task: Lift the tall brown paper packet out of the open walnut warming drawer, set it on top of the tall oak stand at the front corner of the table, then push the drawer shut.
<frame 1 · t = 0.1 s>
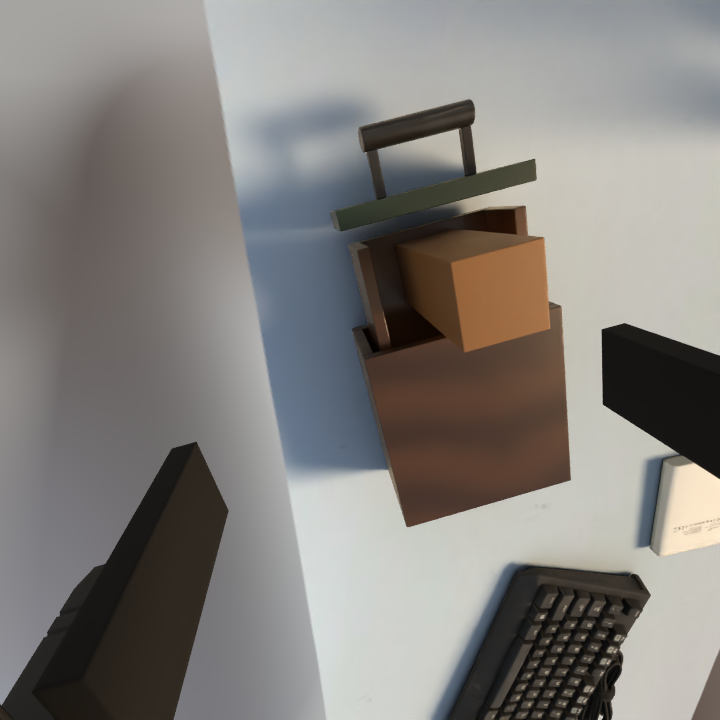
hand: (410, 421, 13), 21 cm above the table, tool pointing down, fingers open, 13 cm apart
keyboard: (541, 671, 52), on the table
packet: (429, 266, 30), point 2 cm above the table, touching drawer
hard drive: (686, 496, 45), on the table
cabinet: (444, 384, 36), on the table
drawer: (434, 257, 28), point 4 cm above the table, slide at 8.0 cm, touching packet
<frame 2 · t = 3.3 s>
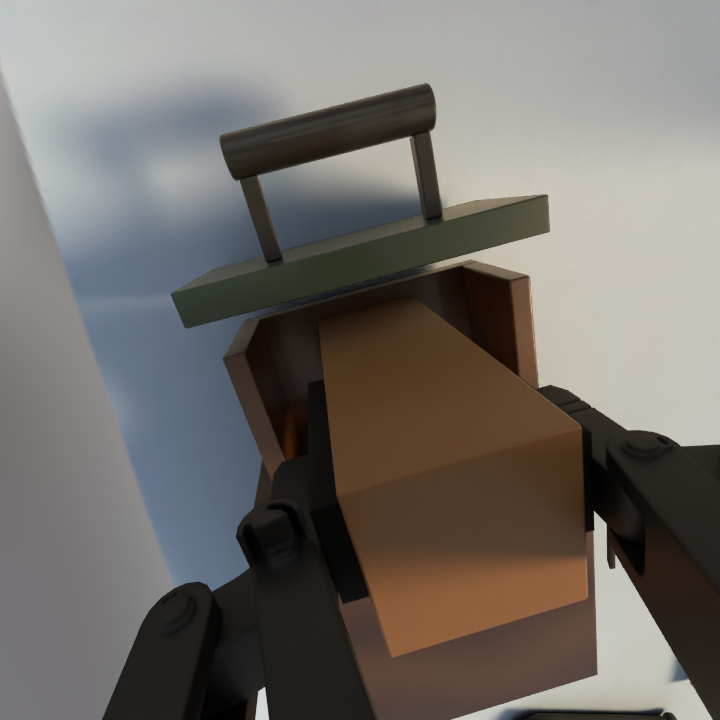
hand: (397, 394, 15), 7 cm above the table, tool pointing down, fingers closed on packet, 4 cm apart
packet: (376, 352, 19), point 2 cm above the table, touching drawer, gripper
cabinet: (409, 503, 25), on the table
drawer: (378, 348, 17), point 4 cm above the table, slide at 8.0 cm, touching packet
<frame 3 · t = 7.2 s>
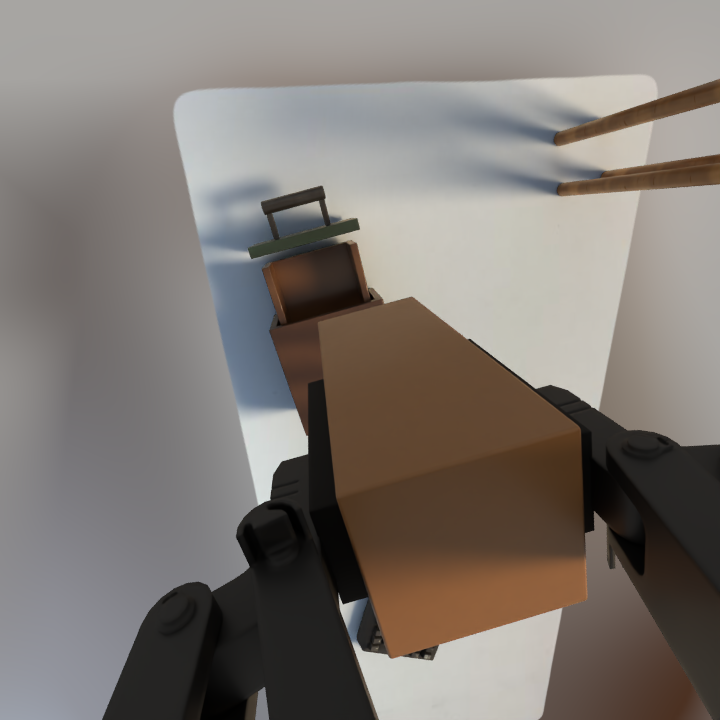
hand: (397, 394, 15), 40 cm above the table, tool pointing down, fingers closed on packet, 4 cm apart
keyboard: (435, 566, 72), on the table
packet: (376, 353, 19), point 35 cm above the table, touching gripper
cabinet: (338, 351, 55), on the table
drawer: (314, 271, 48), point 4 cm above the table, slide at 8.0 cm
when the fingers open (37 cm above the table, at t = 11.3 s): packet stays where it is, resting on stand.
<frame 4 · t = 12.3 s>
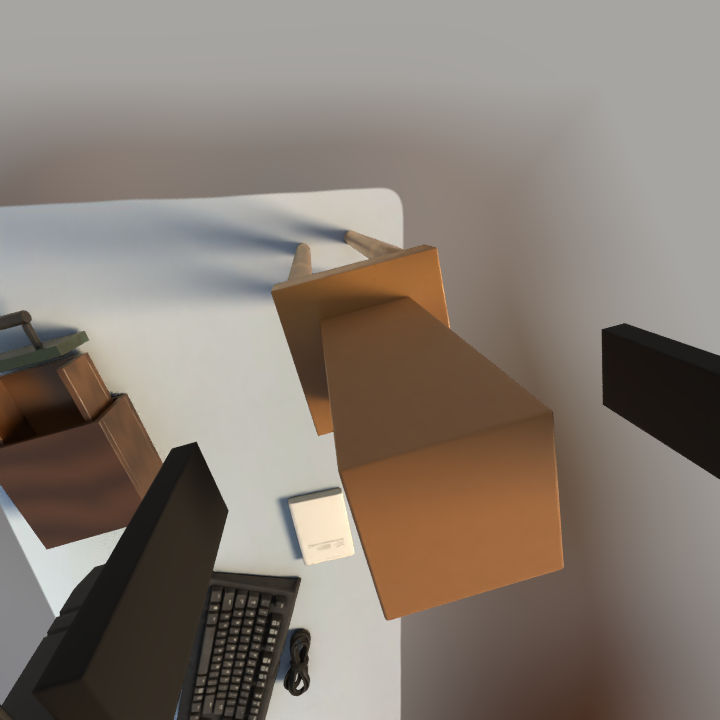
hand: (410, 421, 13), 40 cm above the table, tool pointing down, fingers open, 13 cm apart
keyboard: (254, 649, 71), on the table
stand: (373, 348, 20), on the table
packet: (375, 350, 20), point 32 cm above the table, touching stand
hard drive: (322, 522, 63), on the table
cabinet: (101, 453, 54), on the table
drawer: (38, 388, 46), point 4 cm above the table, slide at 8.0 cm
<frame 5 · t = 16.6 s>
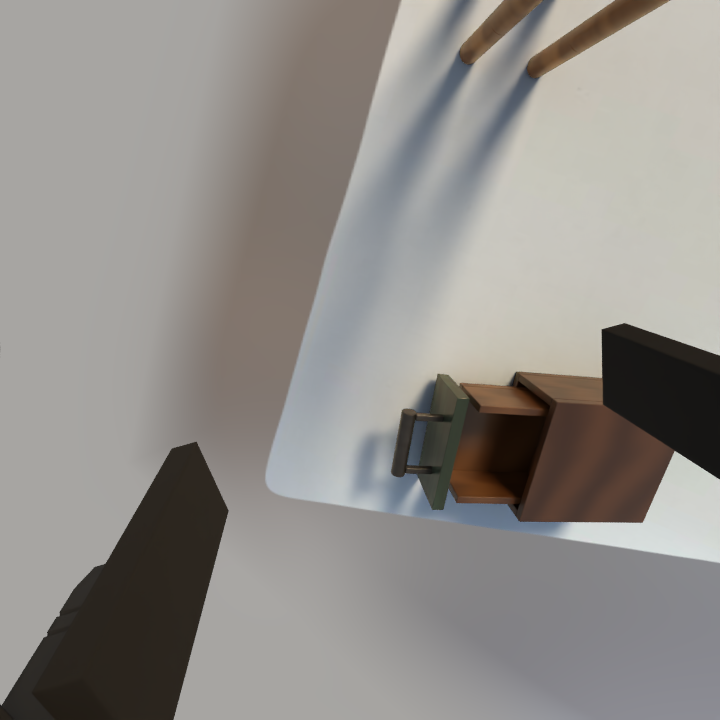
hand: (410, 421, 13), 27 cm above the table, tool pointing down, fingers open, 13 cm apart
cabinet: (558, 429, 47), on the table
drawer: (477, 442, 41), point 4 cm above the table, slide at 8.0 cm
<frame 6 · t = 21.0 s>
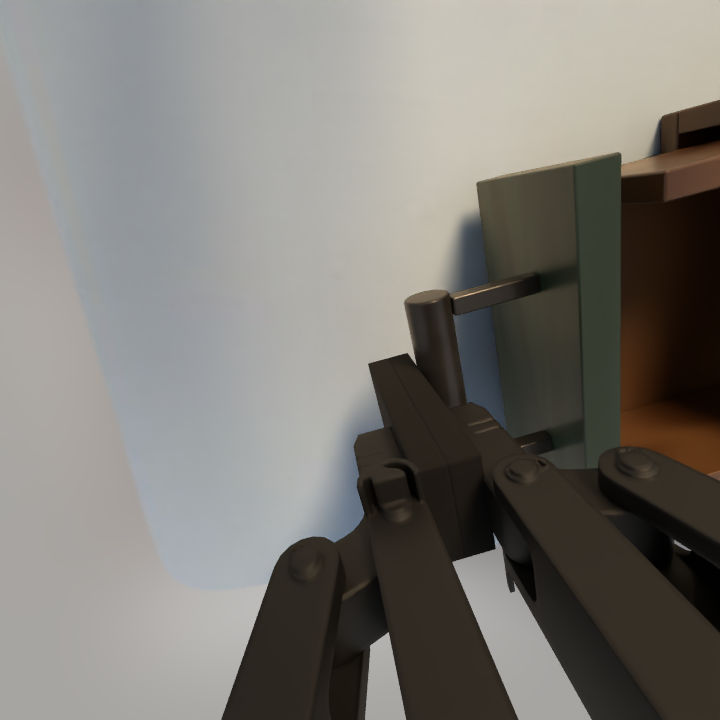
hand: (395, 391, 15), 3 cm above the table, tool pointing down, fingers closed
drawer: (651, 325, 14), point 4 cm above the table, slide at 6.9 cm, touching gripper
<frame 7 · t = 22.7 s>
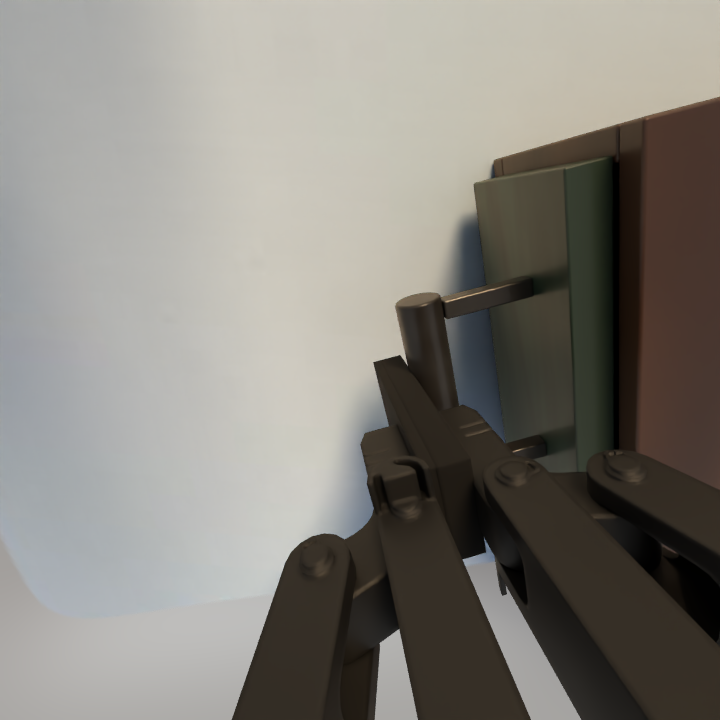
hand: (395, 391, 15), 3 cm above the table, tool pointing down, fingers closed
cabinet: (668, 284, 18), on the table
drawer: (651, 330, 14), point 4 cm above the table, slide at 0.0 cm, touching cabinet, gripper
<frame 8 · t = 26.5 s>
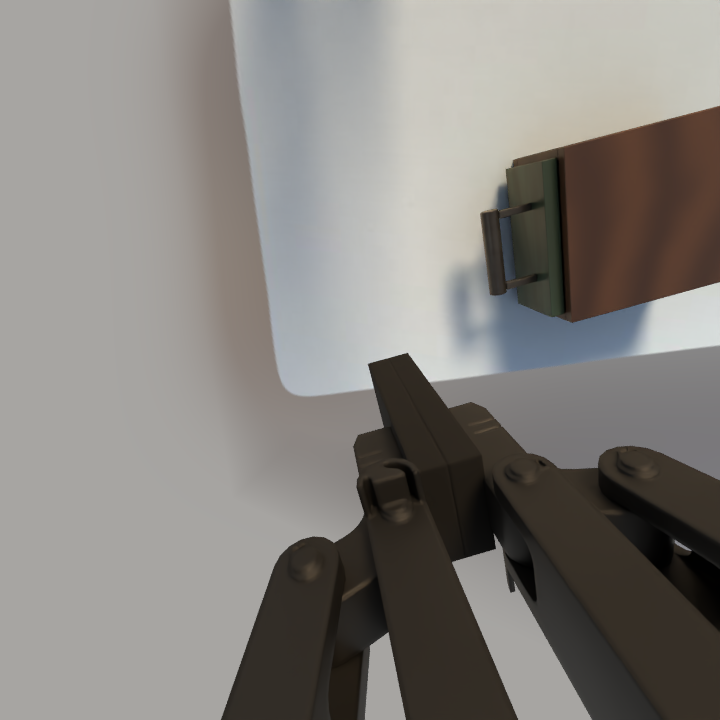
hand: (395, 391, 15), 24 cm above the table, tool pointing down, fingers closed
cabinet: (591, 217, 38), on the table
drawer: (578, 229, 35), point 4 cm above the table, slide at 0.0 cm, touching cabinet
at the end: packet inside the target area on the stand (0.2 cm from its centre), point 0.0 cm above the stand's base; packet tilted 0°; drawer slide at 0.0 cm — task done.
